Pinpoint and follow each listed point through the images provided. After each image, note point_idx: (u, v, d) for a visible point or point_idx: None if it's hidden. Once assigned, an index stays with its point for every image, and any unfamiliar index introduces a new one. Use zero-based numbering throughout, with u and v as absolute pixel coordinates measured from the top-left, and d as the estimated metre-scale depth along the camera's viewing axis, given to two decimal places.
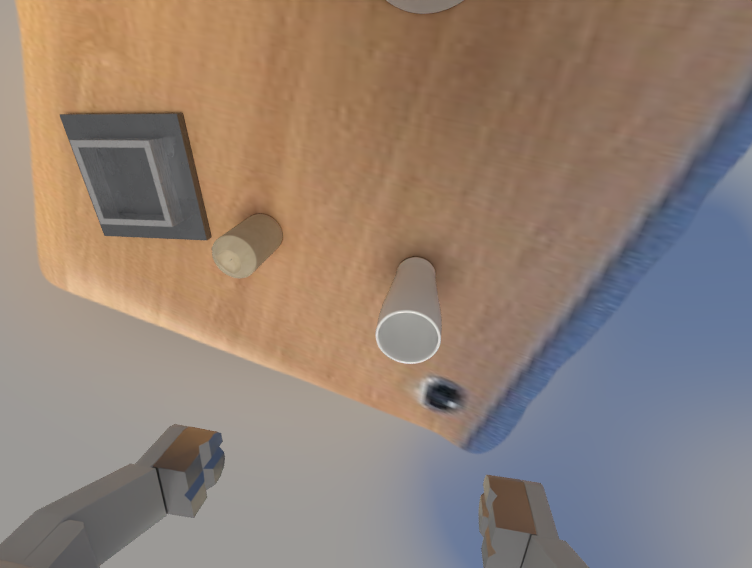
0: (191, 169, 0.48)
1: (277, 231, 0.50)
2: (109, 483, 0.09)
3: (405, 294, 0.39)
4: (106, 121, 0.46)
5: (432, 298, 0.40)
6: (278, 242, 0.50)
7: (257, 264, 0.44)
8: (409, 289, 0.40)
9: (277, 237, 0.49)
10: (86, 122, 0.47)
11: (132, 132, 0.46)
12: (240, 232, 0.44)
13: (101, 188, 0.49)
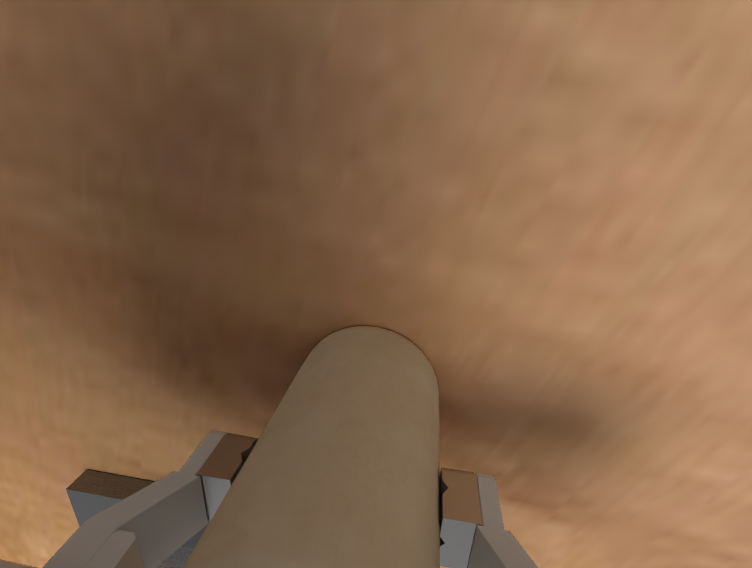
0: None
1: (345, 342, 0.13)
2: (155, 492, 0.09)
3: None
4: None
5: None
6: (385, 352, 0.13)
7: (349, 561, 0.06)
8: None
9: (360, 351, 0.12)
10: None
11: None
12: None
13: None
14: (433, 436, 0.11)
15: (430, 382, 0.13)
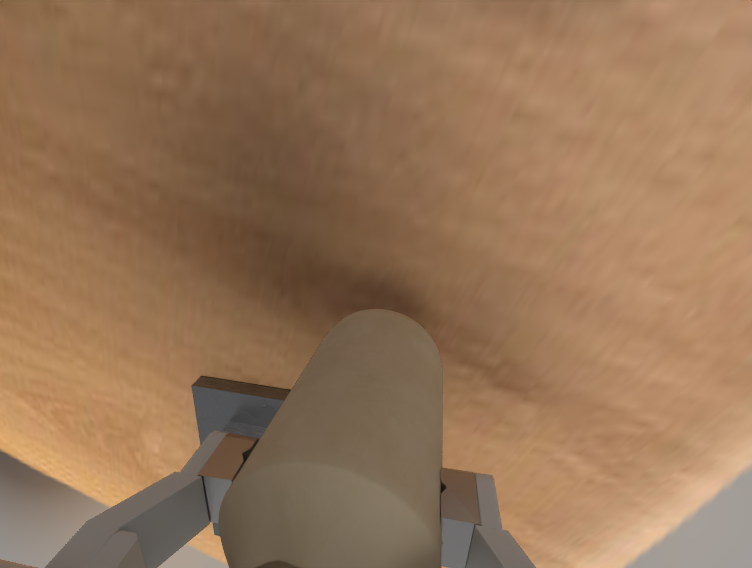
0: (277, 395, 0.27)
1: (360, 320, 0.15)
2: (157, 492, 0.09)
3: None
4: None
5: None
6: (395, 328, 0.14)
7: (369, 467, 0.08)
8: None
9: (374, 327, 0.14)
10: None
11: None
12: None
13: None
14: (437, 398, 0.13)
15: (435, 357, 0.15)
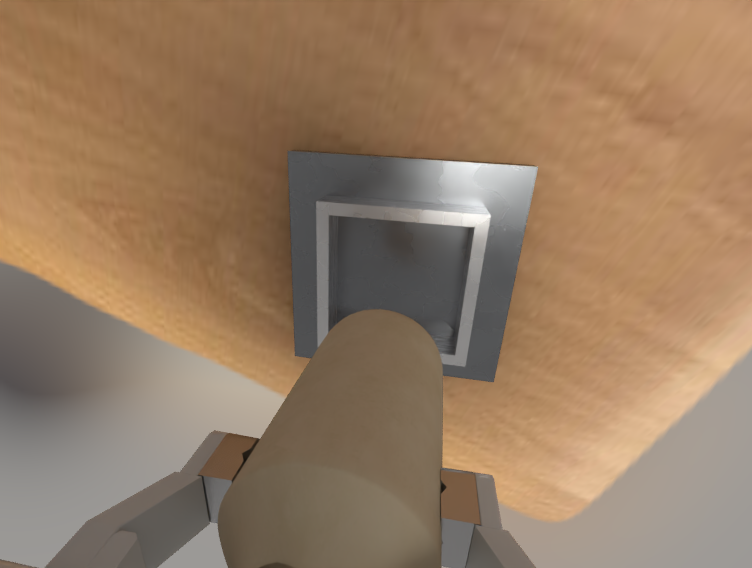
0: (385, 156, 0.24)
1: (360, 321, 0.15)
2: (157, 492, 0.09)
3: None
4: (302, 286, 0.28)
5: None
6: (395, 329, 0.14)
7: (369, 468, 0.08)
8: None
9: (373, 327, 0.14)
10: (304, 320, 0.30)
11: None
12: None
13: None
14: (437, 398, 0.13)
15: (435, 357, 0.15)
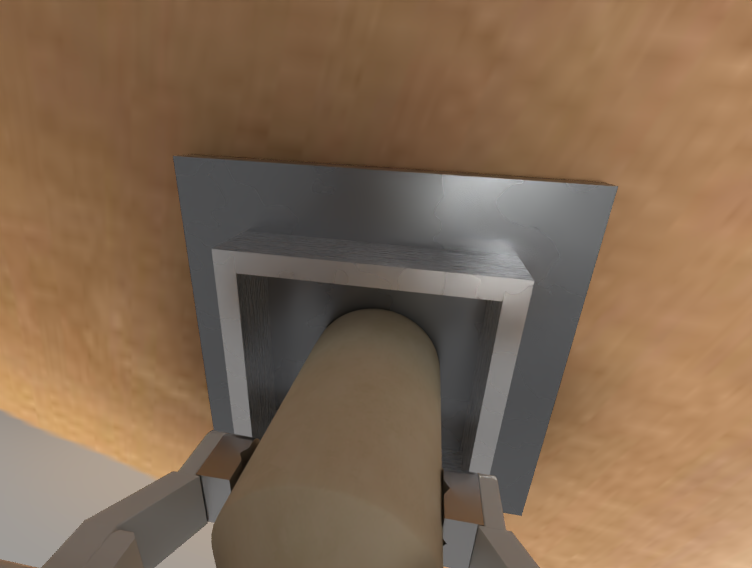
0: (341, 166, 0.14)
1: (355, 322, 0.14)
2: (154, 491, 0.09)
3: None
4: (220, 370, 0.18)
5: None
6: (391, 330, 0.14)
7: (368, 488, 0.08)
8: None
9: (369, 329, 0.14)
10: (228, 417, 0.19)
11: None
12: None
13: None
14: (435, 403, 0.12)
15: (432, 358, 0.14)
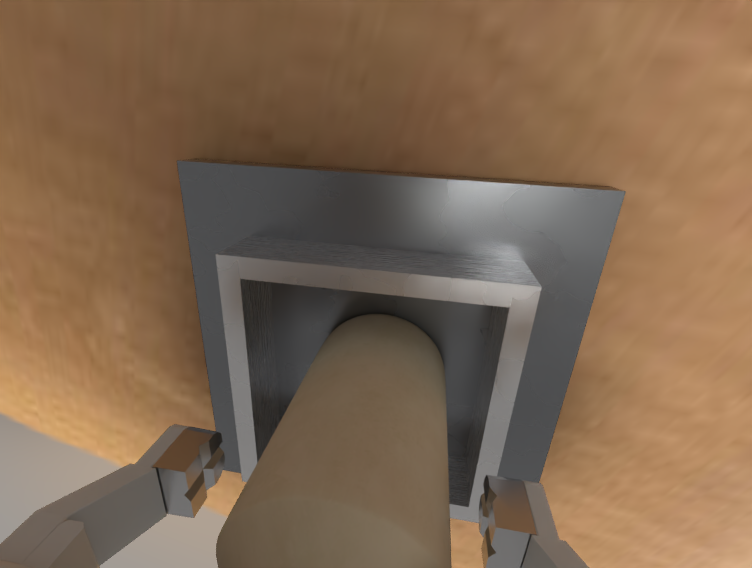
0: (346, 170, 0.14)
1: (359, 328, 0.14)
2: (109, 483, 0.09)
3: None
4: (223, 375, 0.18)
5: None
6: (396, 336, 0.14)
7: (376, 500, 0.08)
8: None
9: (374, 335, 0.14)
10: (231, 422, 0.19)
11: None
12: None
13: None
14: (441, 410, 0.12)
15: (437, 364, 0.14)
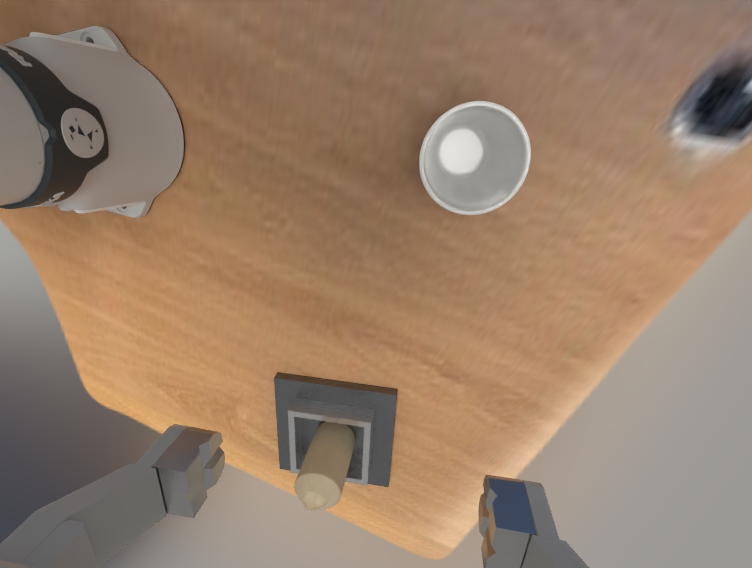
0: (323, 382, 0.48)
1: (327, 427, 0.49)
2: (109, 483, 0.09)
3: None
4: (283, 436, 0.52)
5: None
6: (337, 430, 0.48)
7: (325, 473, 0.42)
8: None
9: (331, 430, 0.48)
10: (284, 451, 0.53)
11: None
12: None
13: None
14: (347, 452, 0.47)
15: (350, 437, 0.49)
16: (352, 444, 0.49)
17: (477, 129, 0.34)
